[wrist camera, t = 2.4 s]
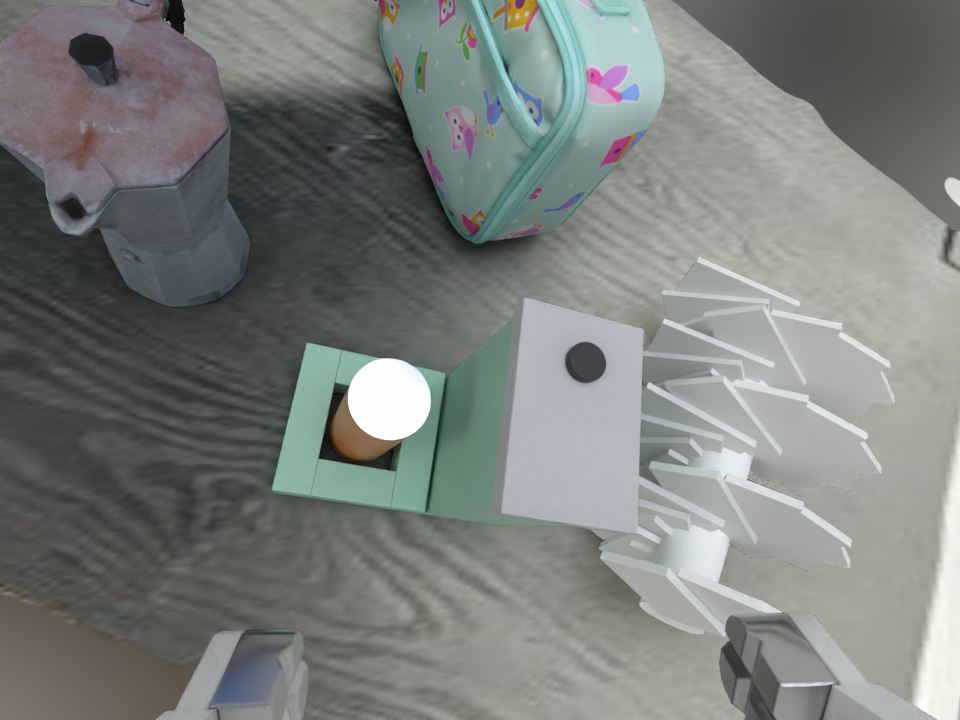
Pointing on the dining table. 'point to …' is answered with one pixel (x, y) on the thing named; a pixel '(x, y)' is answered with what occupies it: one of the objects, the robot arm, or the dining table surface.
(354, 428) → the orange silver-capped cylinder
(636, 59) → the lunch box
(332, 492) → the square frame
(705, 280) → the spiral staircase
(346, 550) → the dining table surface
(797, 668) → the robot arm
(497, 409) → the pet feeder tower
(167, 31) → the moka pot
